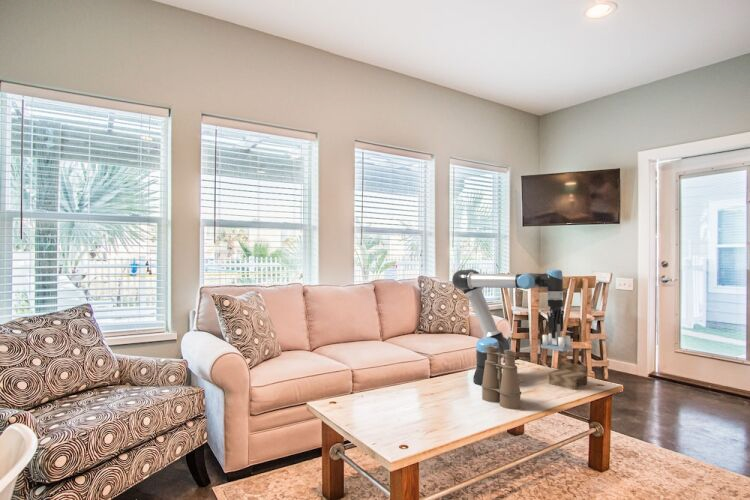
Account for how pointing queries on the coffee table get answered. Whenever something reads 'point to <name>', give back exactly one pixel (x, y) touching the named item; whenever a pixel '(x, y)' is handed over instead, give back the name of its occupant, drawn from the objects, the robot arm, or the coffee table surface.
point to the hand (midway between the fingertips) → (556, 343)
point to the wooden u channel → (569, 375)
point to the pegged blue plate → (562, 342)
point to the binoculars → (501, 379)
